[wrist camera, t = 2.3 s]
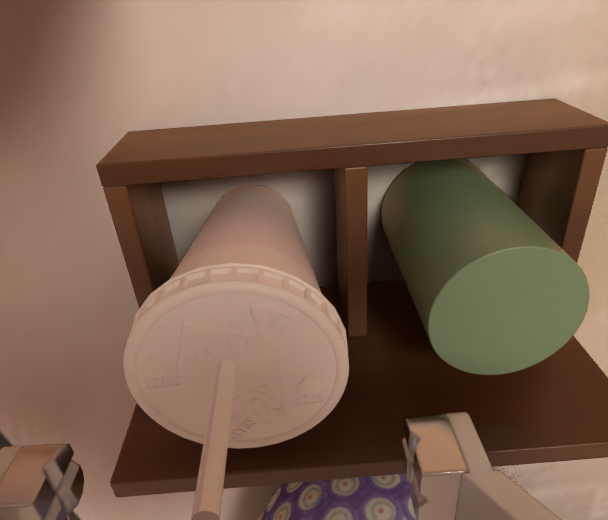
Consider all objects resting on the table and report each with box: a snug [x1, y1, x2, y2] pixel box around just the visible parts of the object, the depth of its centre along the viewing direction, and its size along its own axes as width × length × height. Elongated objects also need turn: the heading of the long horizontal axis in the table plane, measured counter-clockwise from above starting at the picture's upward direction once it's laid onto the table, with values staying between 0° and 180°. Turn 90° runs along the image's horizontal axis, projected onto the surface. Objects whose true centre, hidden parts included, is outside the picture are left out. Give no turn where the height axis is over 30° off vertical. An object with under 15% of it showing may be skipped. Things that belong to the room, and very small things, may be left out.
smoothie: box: [123, 185, 349, 520], centre depth 16 cm, size 6×6×14 cm
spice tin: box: [381, 159, 589, 375], centre depth 18 cm, size 5×5×8 cm
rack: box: [96, 99, 608, 497], centre depth 17 cm, size 9×17×10 cm, turn 94°
